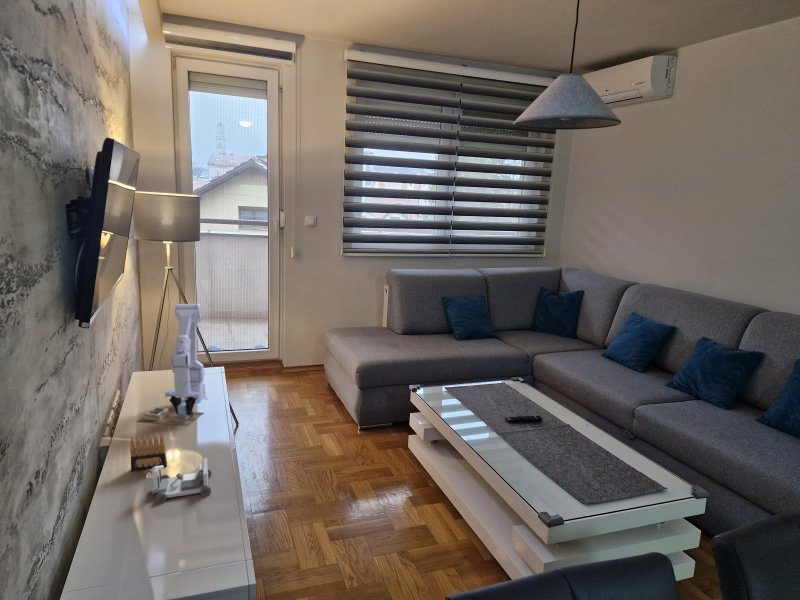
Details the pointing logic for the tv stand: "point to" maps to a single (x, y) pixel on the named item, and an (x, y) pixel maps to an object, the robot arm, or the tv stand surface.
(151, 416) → the brown tray
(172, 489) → the toy car
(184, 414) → the plug
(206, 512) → the tv stand surface
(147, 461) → the ammunition clip
